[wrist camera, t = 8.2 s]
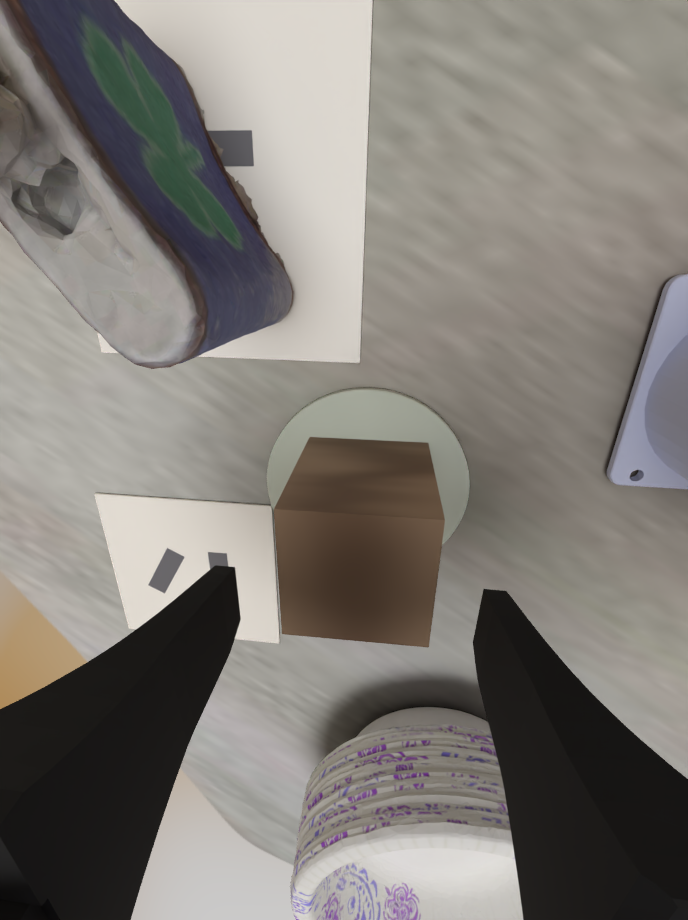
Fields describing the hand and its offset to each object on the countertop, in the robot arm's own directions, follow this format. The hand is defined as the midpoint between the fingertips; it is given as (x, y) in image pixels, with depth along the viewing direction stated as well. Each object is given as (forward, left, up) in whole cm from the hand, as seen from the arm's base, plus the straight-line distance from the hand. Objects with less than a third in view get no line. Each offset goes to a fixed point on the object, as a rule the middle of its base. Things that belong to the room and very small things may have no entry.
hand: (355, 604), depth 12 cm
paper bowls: (-5, +19, -8) cm, 21 cm away
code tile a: (+6, -11, -8) cm, 15 cm away
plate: (0, 0, -8) cm, 8 cm away
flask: (+6, -11, -8) cm, 15 cm away
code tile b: (+9, +6, -8) cm, 13 cm away
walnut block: (0, 0, -7) cm, 7 cm away
